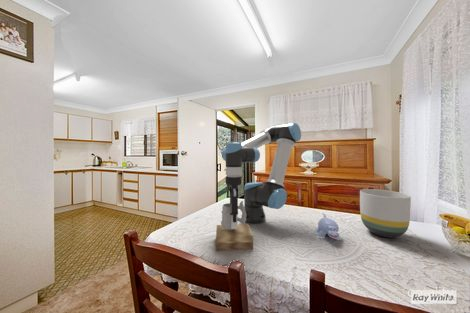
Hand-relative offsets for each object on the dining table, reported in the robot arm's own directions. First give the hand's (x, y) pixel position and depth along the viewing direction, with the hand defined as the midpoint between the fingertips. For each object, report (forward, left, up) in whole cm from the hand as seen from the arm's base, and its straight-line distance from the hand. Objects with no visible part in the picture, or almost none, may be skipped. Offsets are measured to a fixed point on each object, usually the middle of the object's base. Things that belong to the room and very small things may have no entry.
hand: (233, 224), depth 80 cm
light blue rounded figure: (-47, -1, -9) cm, 48 cm away
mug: (0, 0, -1) cm, 1 cm away
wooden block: (0, 0, -8) cm, 8 cm away
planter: (-77, -1, -9) cm, 77 cm away
